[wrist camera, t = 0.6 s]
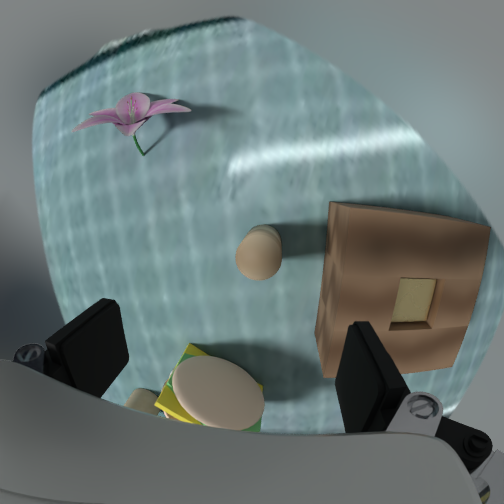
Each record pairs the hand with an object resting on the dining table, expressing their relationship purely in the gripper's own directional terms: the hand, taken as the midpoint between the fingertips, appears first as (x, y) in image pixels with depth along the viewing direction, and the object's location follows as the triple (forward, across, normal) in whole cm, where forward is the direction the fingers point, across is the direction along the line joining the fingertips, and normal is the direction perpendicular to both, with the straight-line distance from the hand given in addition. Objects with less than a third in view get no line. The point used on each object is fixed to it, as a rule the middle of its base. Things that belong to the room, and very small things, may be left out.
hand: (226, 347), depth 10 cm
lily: (+22, +14, -14) cm, 29 cm away
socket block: (+21, -15, +3) cm, 26 cm away
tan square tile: (+14, -15, +3) cm, 21 cm away
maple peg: (+21, 0, 0) cm, 21 cm away
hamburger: (+21, +5, +19) cm, 29 cm away
